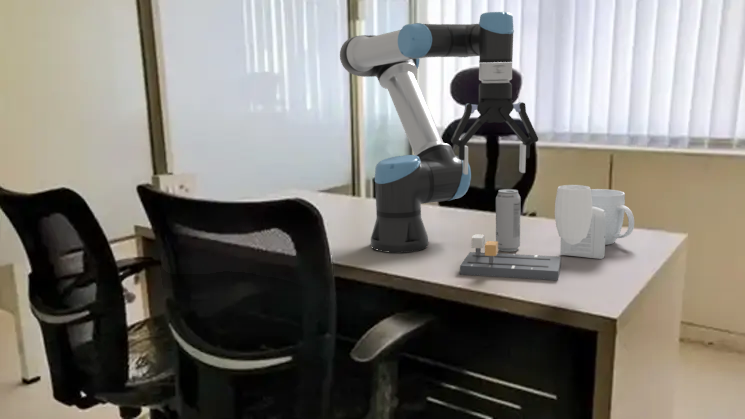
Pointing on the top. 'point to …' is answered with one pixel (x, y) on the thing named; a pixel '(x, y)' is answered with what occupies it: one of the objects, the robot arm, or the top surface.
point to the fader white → (478, 243)
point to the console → (512, 266)
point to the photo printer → (589, 239)
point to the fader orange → (491, 250)
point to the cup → (573, 212)
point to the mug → (613, 212)
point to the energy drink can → (508, 220)
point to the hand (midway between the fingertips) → (493, 172)
